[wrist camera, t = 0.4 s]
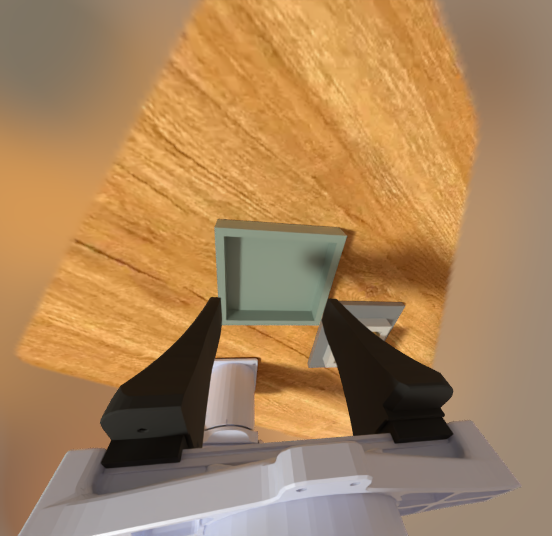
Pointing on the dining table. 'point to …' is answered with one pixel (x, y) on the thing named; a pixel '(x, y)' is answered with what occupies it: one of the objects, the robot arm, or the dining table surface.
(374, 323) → the board
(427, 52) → the dining table surface
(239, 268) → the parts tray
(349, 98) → the dining table surface
